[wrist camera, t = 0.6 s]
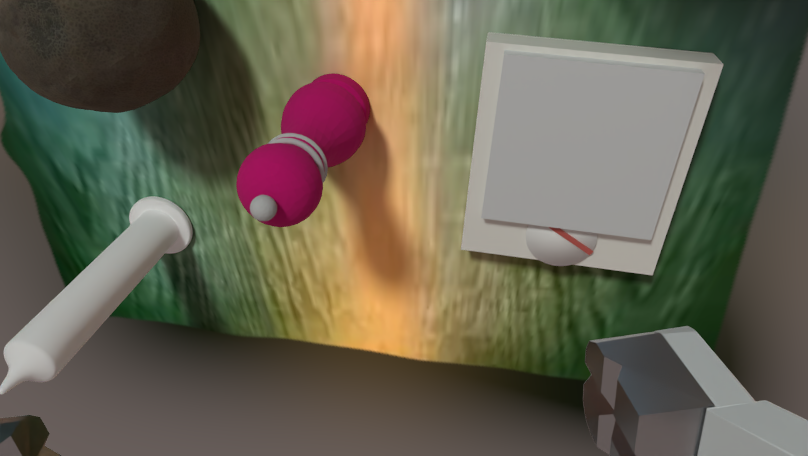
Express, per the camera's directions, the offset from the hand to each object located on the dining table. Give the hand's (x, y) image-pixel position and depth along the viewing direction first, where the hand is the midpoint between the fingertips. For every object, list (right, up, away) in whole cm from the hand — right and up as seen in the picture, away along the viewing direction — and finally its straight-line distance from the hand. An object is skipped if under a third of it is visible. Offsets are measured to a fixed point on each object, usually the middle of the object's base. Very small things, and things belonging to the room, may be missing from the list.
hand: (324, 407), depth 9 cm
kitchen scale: (+17, +9, +46) cm, 50 cm away
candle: (-25, +3, +58) cm, 64 cm away
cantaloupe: (-21, +23, +45) cm, 55 cm away
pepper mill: (-5, +14, +48) cm, 50 cm away
